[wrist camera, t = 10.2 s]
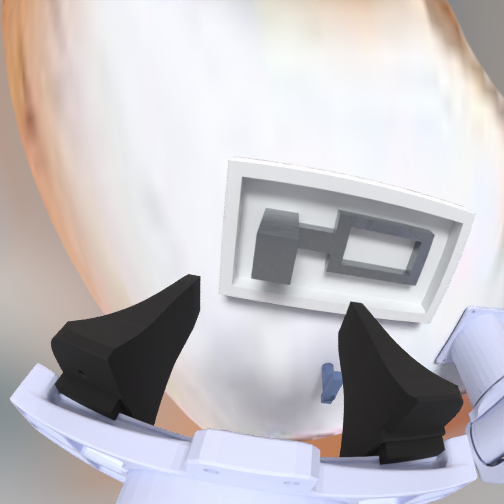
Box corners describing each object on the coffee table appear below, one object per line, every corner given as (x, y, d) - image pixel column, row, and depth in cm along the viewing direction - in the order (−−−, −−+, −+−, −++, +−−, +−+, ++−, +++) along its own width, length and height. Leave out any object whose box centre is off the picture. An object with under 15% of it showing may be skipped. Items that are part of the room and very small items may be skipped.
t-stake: (341, 348, 25) (345, 380, 22) (330, 373, 27) (331, 403, 23) (330, 347, 25) (332, 379, 22) (319, 372, 27) (320, 402, 24)
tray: (463, 206, 18) (475, 214, 16) (423, 310, 22) (430, 323, 20) (234, 156, 19) (228, 160, 17) (224, 281, 24) (218, 293, 22)
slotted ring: (429, 230, 19) (458, 258, 14) (411, 279, 21) (432, 315, 16) (267, 197, 20) (258, 219, 15) (259, 254, 22) (249, 289, 17)
